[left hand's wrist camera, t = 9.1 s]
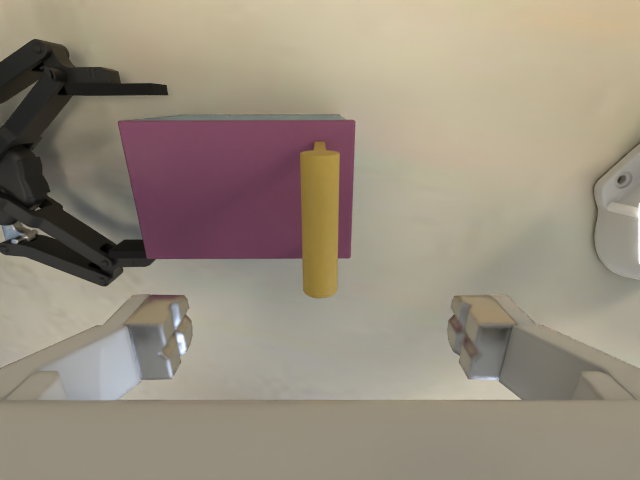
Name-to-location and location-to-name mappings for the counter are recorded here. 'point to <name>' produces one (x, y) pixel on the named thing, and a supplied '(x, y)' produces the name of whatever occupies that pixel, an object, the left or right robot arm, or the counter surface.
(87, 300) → the counter surface
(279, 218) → the lid
